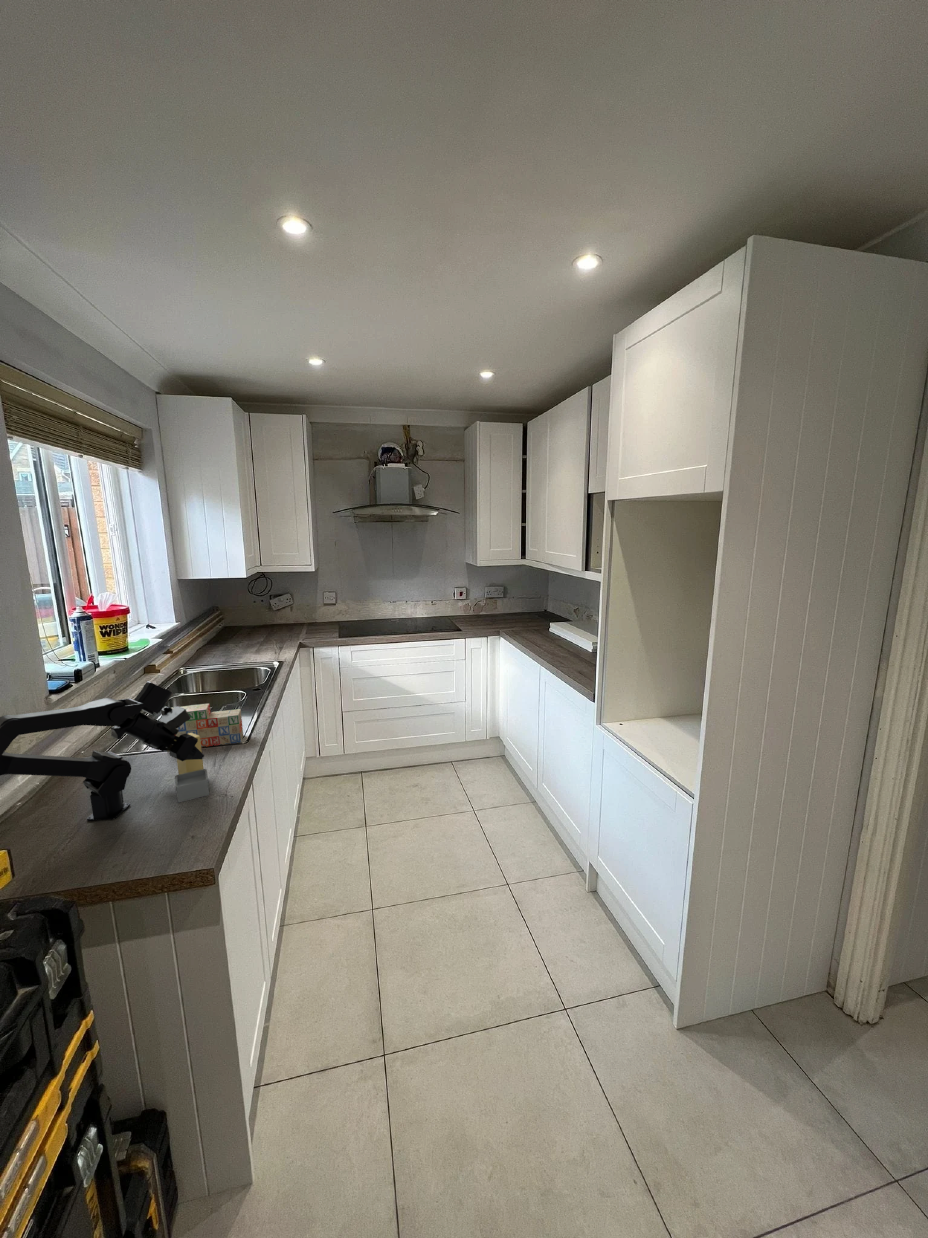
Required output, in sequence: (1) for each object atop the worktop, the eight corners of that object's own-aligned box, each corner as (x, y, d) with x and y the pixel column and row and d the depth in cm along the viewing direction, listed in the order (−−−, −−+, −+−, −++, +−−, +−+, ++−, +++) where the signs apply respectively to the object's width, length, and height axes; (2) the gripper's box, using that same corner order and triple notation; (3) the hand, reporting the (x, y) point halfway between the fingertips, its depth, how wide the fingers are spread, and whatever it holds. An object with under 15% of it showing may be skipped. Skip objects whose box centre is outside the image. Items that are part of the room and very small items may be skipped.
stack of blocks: (243, 735, 166) (240, 699, 163) (241, 742, 160) (237, 706, 157) (171, 744, 160) (167, 707, 158) (166, 752, 154) (161, 714, 152)
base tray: (177, 803, 124) (175, 787, 123) (176, 790, 130) (175, 775, 129) (210, 795, 127) (208, 779, 127) (208, 783, 134) (206, 768, 133)
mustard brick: (188, 784, 133) (183, 741, 131) (179, 779, 136) (174, 738, 134) (204, 777, 137) (199, 735, 135) (195, 773, 139) (190, 732, 137)
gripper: (185, 707, 124) (231, 733, 135) (148, 695, 134) (194, 720, 145) (156, 748, 119) (206, 772, 130) (120, 732, 129) (169, 756, 140)
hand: (194, 753), depth 136 cm, fingers open, 8 cm apart
